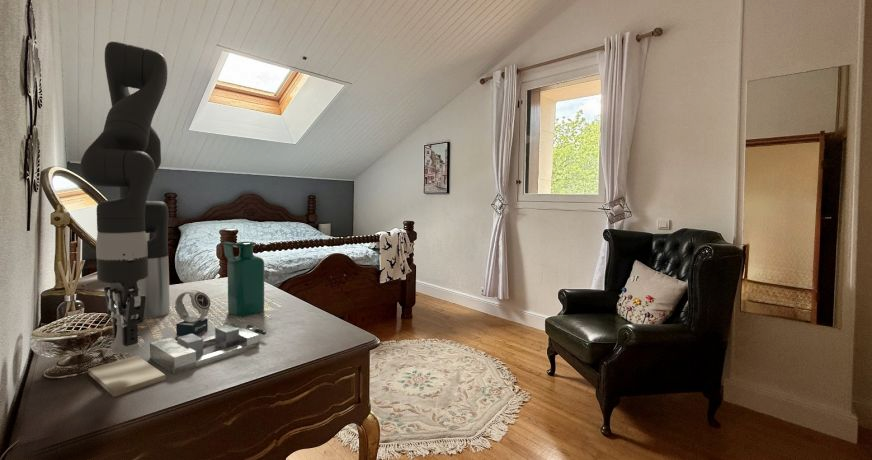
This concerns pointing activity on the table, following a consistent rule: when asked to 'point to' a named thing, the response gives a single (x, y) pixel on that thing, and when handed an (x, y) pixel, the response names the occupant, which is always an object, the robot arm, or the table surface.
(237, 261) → the pitcher
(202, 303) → the watch
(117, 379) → the board
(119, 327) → the rook chess piece
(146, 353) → the table surface
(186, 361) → the vise
